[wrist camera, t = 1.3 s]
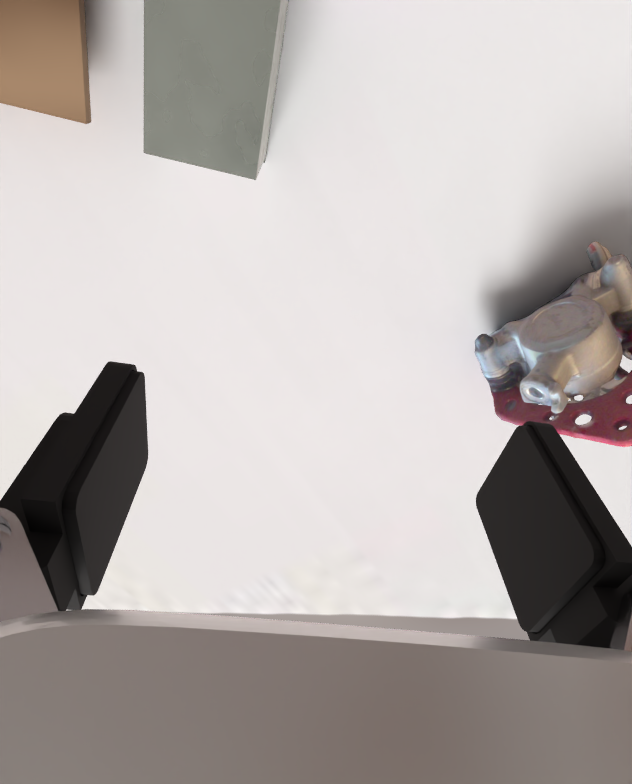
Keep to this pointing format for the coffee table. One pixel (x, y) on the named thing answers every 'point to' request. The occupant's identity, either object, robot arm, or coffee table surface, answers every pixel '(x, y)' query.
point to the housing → (211, 80)
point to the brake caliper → (569, 357)
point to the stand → (45, 57)
